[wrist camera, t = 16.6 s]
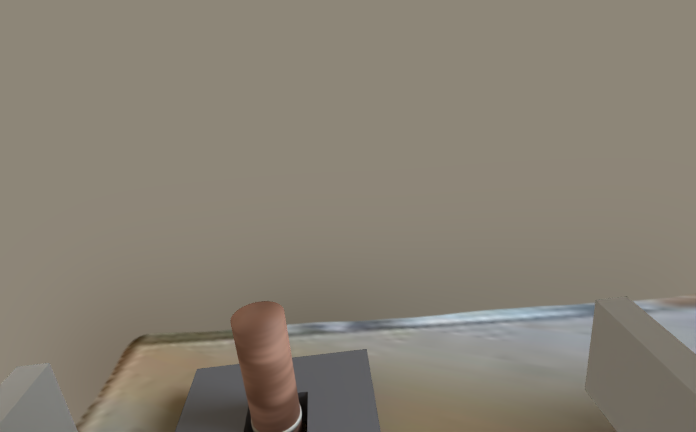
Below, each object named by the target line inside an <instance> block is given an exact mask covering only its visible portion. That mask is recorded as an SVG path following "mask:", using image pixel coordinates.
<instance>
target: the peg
mask: <svg viewBox="0 0 696 432" xmlns="http://www.w3.org/2000/svg"><path fill="white" fill-rule="evenodd" d="M231 327H232V331H233V336H234V341H235V345H236V350H237V355H238V359H239V364H240V369H241V373H242V378H243V382H244V387H245V392H246V396H247V401H248V406H249V410H250V415H251V424H252V428H253V431H254V432H304V429H303V423H302V411H301V406H300V404H299V399H298V392H297V386H296V380H295V374H294V368H293V362H292V356H291V350H290V344H289V337H288V331H287V325H286V319H285V313H284V309H283V307H282V306H281V305H279V304H277V303H275V302H269V301H262V302H255V303H252V304H248V305H246V306H244V307H242V308H240V309H239V310H237V311H236V312H235V313H234V314H233V316H232V317H231Z"/></svg>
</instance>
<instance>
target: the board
mask: <svg viewBox="0 0 696 432" xmlns="http://www.w3.org/2000/svg"><path fill="white" fill-rule="evenodd" d="M292 362H293V368H294V374H295V380H296V386H297V392H298V399H299V404H300V406H301V411H302V422H303V421H307V432H380V426H379V420H378V414H377V408H376V402H375V396H374V390H373V384H372V379H371V373H370V367H369V361H368V355H367V349H363V350H354V351H346V352H337V353H329V354H320V355H312V356H303V357H295V358H292ZM175 432H254V431H253V428H252V424H251V415H250V410H249V406H248V401H247V396H246V392H245V387H244V382H243V378H242V373H241V369H240V364H235V365H227V366H218V367H210V368H201V369H197V371H196V374H195V376H194V379H193V382H192V385H191V388H190V391H189V393H188V396H187V399H186V402H185V405H184V408H183V410H182V413H181V416H180V419H179V422H178V425H177V427H176V430H175Z"/></svg>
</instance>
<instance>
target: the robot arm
mask: <svg viewBox="0 0 696 432" xmlns="http://www.w3.org/2000/svg"><path fill="white" fill-rule="evenodd" d="M585 390H586V392H587V393H588V394H589V396H590V397H591V398H592V400H593V401H594V402H595V404H596V405H597V406H598V408H599V409H600V410H601V411H602V413H603V414H604V415H605V417H606V418H607V419H608V421H609V422H610V423H611V425H612V426H613V427H614V429H615V430H616V431H617V432H696V354H695V353H693V352H692V351H691V350H690V349H689V348H688V347H686V346H685V345H684V344H683V343H682V342H680V341H679V340H678V339H677V338H676V337H674V336H673V335H672V334H671V333H670V332H669V331H667V330H666V329H665V328H664V327H663V326H661V325H660V324H659V323H658V322H657V321H655V320H654V319H653V318H652V317H651V316H649V315H648V314H647V313H646V312H645V311H644V310H642V309H641V308H640V307H639V306H638V305H636V304H635V303H634V302H633V301H632V300H630V299H629V298H628V297H627V296H625V297H617V298H608V299H599V300H596V302H595V310H594V318H593V327H592V335H591V343H590V351H589V359H588V368H587V376H586V384H585ZM0 432H78V431H77V429H76V426H75V424H74V421H73V419H72V417H71V414H70V412H69V409H68V407H67V404H66V402H65V399H64V397H63V395H62V392H61V390H60V387H59V385H58V382H57V380H56V378H55V375H54V373H53V370H52V368H51V365H50V363H45V364H36V365H28V366H19V367H16V368H15V369H14V370H13V371H12V373H11V374H10V375H9V376H8V377H7V378H6V379H5V380H4V381H3V382H2V384H1V385H0Z"/></svg>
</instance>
